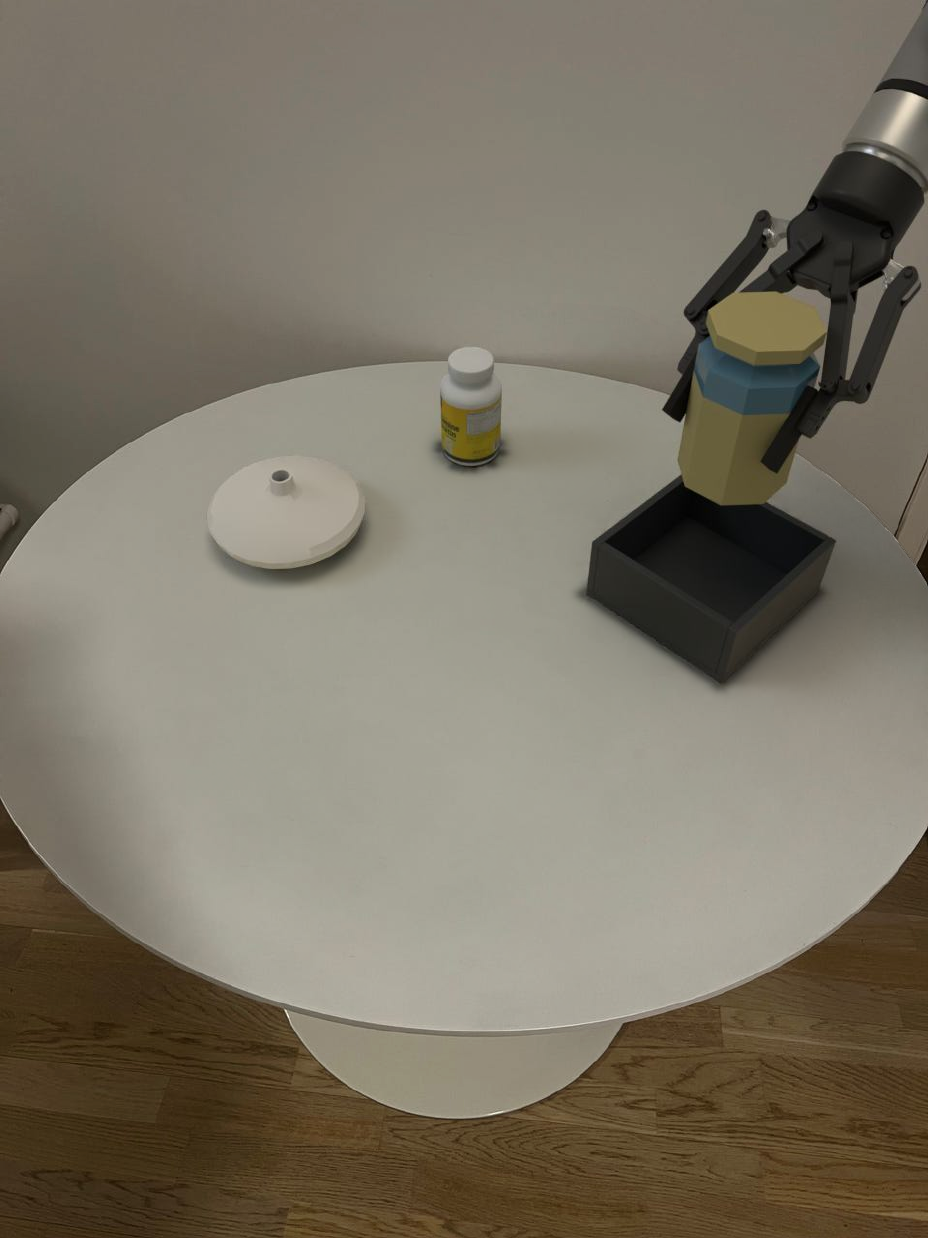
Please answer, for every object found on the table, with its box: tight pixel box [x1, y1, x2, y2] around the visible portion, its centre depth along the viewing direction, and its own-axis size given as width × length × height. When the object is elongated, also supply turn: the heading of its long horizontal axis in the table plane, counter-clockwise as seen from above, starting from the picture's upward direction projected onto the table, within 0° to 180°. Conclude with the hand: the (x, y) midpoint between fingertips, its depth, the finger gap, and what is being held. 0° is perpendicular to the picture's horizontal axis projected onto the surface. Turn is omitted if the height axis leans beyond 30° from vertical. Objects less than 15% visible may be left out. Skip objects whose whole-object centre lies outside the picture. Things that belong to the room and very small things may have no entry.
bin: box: [585, 473, 837, 684], centre depth 93 cm, size 16×16×7 cm
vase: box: [205, 455, 366, 570], centre depth 100 cm, size 16×16×7 cm
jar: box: [676, 292, 828, 505], centre depth 80 cm, size 9×9×15 cm
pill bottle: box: [439, 346, 503, 467], centre depth 106 cm, size 6×6×12 cm
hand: (718, 441), depth 79 cm, fingers closed on jar, 9 cm apart
